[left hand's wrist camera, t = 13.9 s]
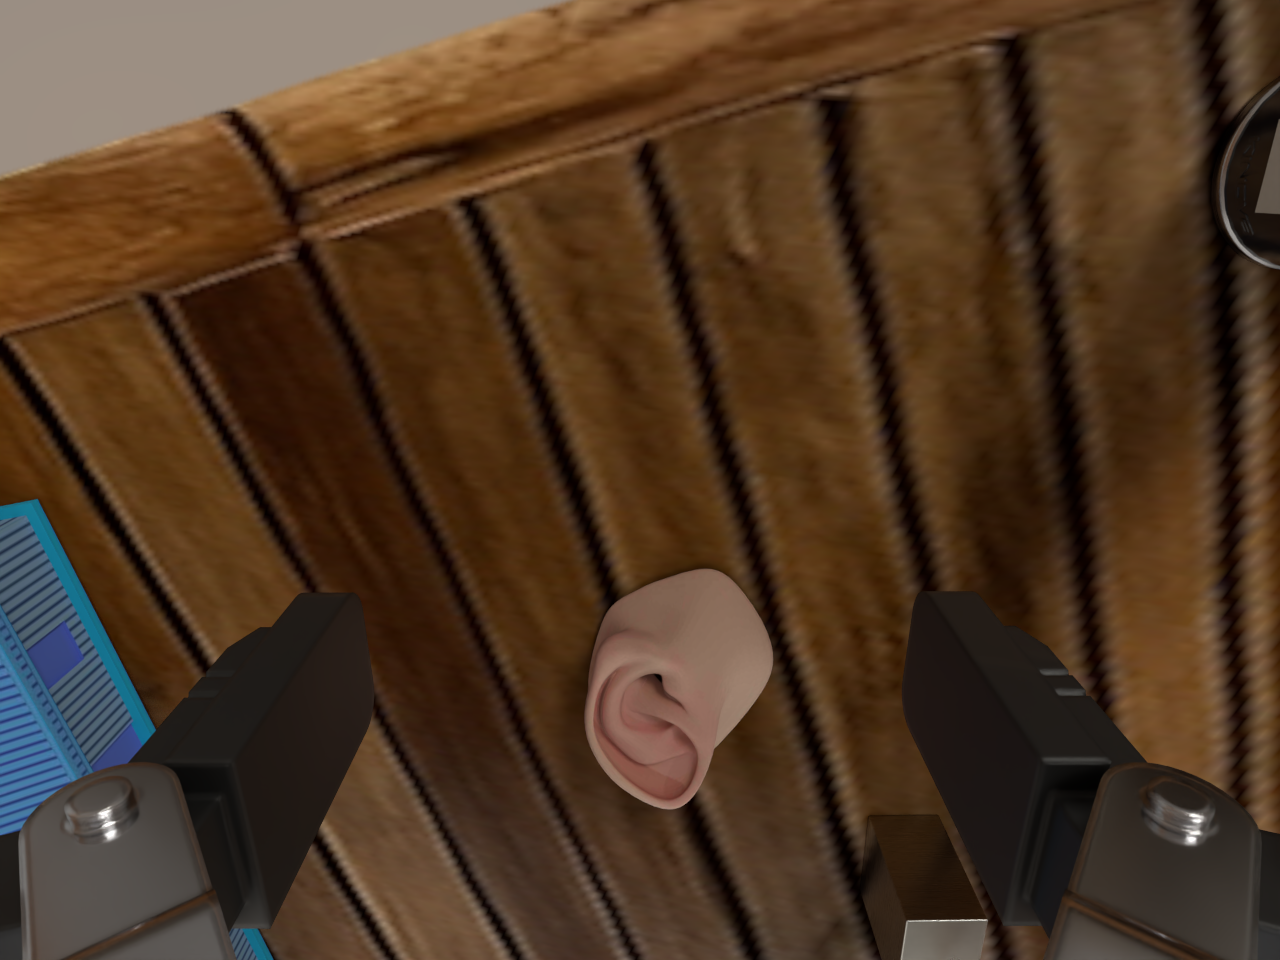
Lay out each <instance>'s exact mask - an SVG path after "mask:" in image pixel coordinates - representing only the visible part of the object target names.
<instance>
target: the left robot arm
mask: <svg viewBox="0 0 1280 960" xmlns="http://www.w3.org/2000/svg"><path fill="white" fill-rule="evenodd" d="M1211 200H1212V209H1213V213H1214V218H1215V221H1216V224H1217V226H1218V228H1219V231H1220V233H1221V235H1222V236H1223V238H1224V239H1225V241H1226V242H1227V243H1228V244H1229V246H1230V247H1231V248H1232V249H1233V250H1234V251H1235V252H1236V253H1238V254H1239V255H1240V256H1242V257H1243V258H1245V259H1247V260H1248V261H1250V262H1252V263H1255V264H1257V265H1260V266H1264V267H1268V268H1275V269H1280V76H1279V77H1278V78H1276V79H1275V80H1274V81H1272V82H1271V83H1270V84H1268V85H1267V86H1266V87H1265V88H1264V89H1262V90H1261V91H1260V92H1259V93H1258V94H1257V95H1256V96H1255V97H1254V98H1253V99H1252V100H1251V101H1250V102H1249V104H1248V105H1247V106H1246V107H1245V108H1244V109H1243V111H1242V112H1241V113H1240V115H1239V116H1238V117H1237V119H1236V120H1235V122H1234V123H1233V125H1232V126H1231V128H1230V130H1229V132H1228V134H1227V135H1226V137H1225V139H1224V142H1223V144H1222V146H1221V148H1220V151H1219V154H1218V157H1217V160H1216V164H1215V167H1214V172H1213V178H1212V188H1211ZM902 701H903V710H904V715H905V719H906V722H907V725H908V728H909V730H910V732H911V734H912V736H913V738H914V741H915V743H916V745H917V747H918V749H919V751H920V753H921V755H922V757H923V759H924V761H925V763H926V765H927V767H928V769H929V772H930V774H931V776H932V778H933V780H934V782H935V784H936V786H937V788H938V790H939V792H940V794H941V796H942V798H943V801H944V803H945V805H946V807H947V809H948V811H949V813H950V815H951V817H952V819H953V821H954V823H955V825H956V827H957V830H958V832H959V834H960V836H961V838H962V840H963V842H964V844H965V846H966V848H967V850H968V852H969V854H970V856H971V859H972V861H973V863H974V865H975V867H976V869H977V871H978V873H979V875H980V877H981V879H982V881H983V883H984V885H985V888H986V890H987V892H988V894H989V896H990V898H991V900H992V902H993V904H994V906H995V908H996V910H997V912H998V914H999V917H1000V919H1001V921H1002V923H1003V925H1004V926H1043V928H1044V930H1045V932H1046V934H1047V936H1048V938H1049V943H1048V946H1047V949H1046V952H1045V955H1044V959H1043V960H1280V834H1277V833H1273V832H1268V831H1264V830H1260V829H1258V826H1257V824H1256V823H1255V821H1254V820H1253V818H1252V817H1251V815H1250V814H1249V813H1248V812H1247V811H1246V810H1245V809H1244V808H1243V807H1242V806H1241V805H1240V804H1239V803H1238V802H1237V801H1236V800H1234V799H1233V798H1232V797H1231V796H1229V795H1228V794H1226V793H1225V792H1224V791H1222V790H1221V789H1219V788H1217V787H1216V786H1214V785H1212V784H1211V783H1209V782H1207V781H1205V780H1203V779H1201V778H1199V777H1197V776H1194V775H1192V774H1189V773H1187V772H1185V771H1182V770H1178V769H1175V768H1172V767H1168V766H1164V765H1160V764H1153V763H1147V762H1146V760H1145V759H1144V758H1143V757H1142V756H1141V755H1140V753H1139V752H1138V751H1137V750H1136V749H1135V748H1134V746H1133V745H1132V744H1131V743H1130V742H1129V741H1128V739H1127V738H1126V737H1125V736H1124V735H1123V734H1122V733H1121V731H1120V730H1119V729H1118V728H1117V727H1116V726H1115V724H1114V723H1113V722H1112V721H1111V720H1110V719H1109V717H1108V716H1107V715H1106V714H1105V713H1104V712H1103V710H1102V709H1101V708H1100V707H1099V706H1098V705H1097V703H1096V702H1095V701H1094V700H1093V699H1092V698H1091V696H1086V693H1085V689H1084V688H1083V687H1082V686H1081V685H1080V684H1079V682H1078V681H1077V680H1076V679H1075V678H1074V677H1073V675H1069V674H1068V670H1067V668H1066V667H1065V666H1064V665H1063V664H1062V663H1061V661H1060V660H1059V659H1058V658H1057V657H1056V656H1055V655H1054V653H1053V652H1052V651H1051V650H1050V649H1049V648H1048V646H1046V645H1044V644H1043V643H1041V642H1040V641H1038V640H1037V639H1035V638H1033V637H1032V636H1030V635H1029V634H1027V633H1026V632H1024V631H1022V630H1021V629H1019V628H1018V627H1016V626H1003V625H1002V623H1001V622H1000V621H999V620H998V618H997V617H996V616H995V615H994V613H993V612H992V611H991V610H990V608H989V607H988V606H987V605H986V603H985V602H984V601H983V600H982V598H981V597H980V596H979V595H978V594H977V593H975V592H972V591H923V592H920V593H919V594H918V595H917V597H916V599H915V602H914V606H913V612H912V619H911V626H910V633H909V640H908V647H907V654H906V661H905V668H904V675H903V683H902ZM373 703H374V684H373V677H372V670H371V663H370V656H369V649H368V642H367V635H366V628H365V622H364V615H363V608H362V604H361V601H360V599H359V597H358V595H357V594H355V593H301V594H299V595H298V596H297V597H296V598H295V599H294V600H293V601H292V603H291V604H290V605H289V606H288V607H287V609H286V610H285V611H284V612H283V614H282V615H281V616H280V617H279V619H278V620H277V621H276V622H275V624H274V625H273V626H272V627H260V628H258V629H257V630H255V631H254V632H252V633H250V634H249V635H247V636H246V637H244V638H242V639H241V640H239V641H238V642H236V643H235V644H233V645H231V646H230V647H228V648H227V649H226V650H225V651H224V652H223V654H222V655H221V656H220V657H219V658H218V659H217V661H216V662H215V663H214V664H213V665H212V666H211V667H210V669H209V670H208V671H207V672H206V677H202V678H201V679H200V680H199V681H198V682H197V684H196V685H195V686H194V687H193V688H192V689H191V691H190V692H189V697H188V698H184V699H183V700H182V701H181V702H180V703H179V704H178V706H177V707H176V708H175V709H174V710H173V711H172V712H171V714H170V715H169V716H168V717H167V718H166V719H165V721H164V722H163V723H162V724H161V725H160V726H159V727H158V729H157V730H156V731H155V732H154V733H153V734H152V736H151V737H150V738H149V739H148V740H147V741H146V742H145V744H144V745H143V746H142V747H141V748H140V749H139V751H138V752H137V753H136V754H135V755H134V756H133V757H132V759H131V760H130V761H129V762H128V763H127V764H120V765H116V766H112V767H108V768H105V769H102V770H98V771H95V772H93V773H91V774H88V775H86V776H83V777H81V778H79V779H77V780H75V781H73V782H71V783H69V784H68V785H66V786H64V787H63V788H61V789H59V790H58V791H56V792H55V793H54V794H52V795H51V796H49V797H48V798H47V799H46V800H44V801H43V802H42V803H41V804H40V805H39V806H38V807H37V808H36V809H35V810H34V811H33V812H32V813H31V814H30V815H29V817H28V818H27V820H26V821H25V823H24V824H23V826H22V829H21V830H20V831H16V832H12V833H8V834H4V835H0V960H237V959H236V955H235V952H234V949H233V946H232V943H231V939H230V936H229V933H230V931H231V929H270V928H271V926H272V924H273V922H274V920H275V918H276V916H277V914H278V912H279V910H280V908H281V905H282V903H283V901H284V899H285V897H286V895H287V893H288V891H289V889H290V887H291V885H292V883H293V881H294V879H295V877H296V875H297V873H298V871H299V869H300V867H301V865H302V862H303V860H304V858H305V856H306V854H307V852H308V850H309V848H310V846H311V844H312V842H313V840H314V838H315V836H316V834H317V832H318V830H319V828H320V826H321V824H322V822H323V820H324V817H325V815H326V813H327V811H328V809H329V807H330V805H331V803H332V801H333V799H334V797H335V795H336V793H337V791H338V789H339V787H340V785H341V783H342V781H343V779H344V777H345V775H346V772H347V770H348V768H349V766H350V764H351V762H352V760H353V758H354V756H355V754H356V752H357V750H358V748H359V746H360V744H361V742H362V740H363V738H364V736H365V734H366V732H367V729H368V727H369V724H370V720H371V716H372V711H373Z"/></svg>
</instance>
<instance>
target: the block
mask: <svg viewBox="0 0 1280 960" xmlns="http://www.w3.org/2000/svg"><path fill="white" fill-rule="evenodd" d="M860 891H861V894H862V897H863V900H864V904H865V907H866V910H867V913H868V916H869V920H870V923H871V926H872V929H873V932H874V936H875V939H876V942H877V945H878V948H879V952H880V955H881V958H882V960H980V956H981V951H982V946H983V941H984V936H985V931H986V926H987V921H988V920H987V918H986V915H985V913H984V911H983V909H982V907H981V905H980V903H979V901H978V898H977V896H976V894H975V892H974V890H973V888H972V886H971V884H970V881H969V879H968V877H967V875H966V873H965V871H964V869H963V866H962V864H961V862H960V860H959V858H958V856H957V854H956V852H955V849H954V847H953V845H952V843H951V841H950V839H949V837H948V835H947V832H946V830H945V828H944V826H943V824H942V822H941V820H940V818H939V816H938V815H913V816H869V818H868V827H867V835H866V843H865V852H864V860H863V869H862V877H861V885H860Z"/></svg>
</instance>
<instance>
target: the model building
mask: <svg viewBox="0 0 1280 960" xmlns="http://www.w3.org/2000/svg"><path fill="white" fill-rule="evenodd" d="M155 731H156V729H155V727H154V725H153V723H152V721H151V719H150V718H149V716H148V714H147V712H146V710H145V708H144V706H143V704H142V702H141V700H140V698H139V696H138V694H137V692H136V690H135V688H134V686H133V684H132V682H131V680H130V678H129V677H128V675H127V673H126V671H125V669H124V667H123V665H122V663H121V661H120V659H119V657H118V655H117V653H116V651H115V649H114V647H113V645H112V643H111V641H110V639H109V637H108V636H107V634H106V632H105V630H104V628H103V626H102V624H101V622H100V620H99V618H98V616H97V614H96V612H95V610H94V608H93V606H92V604H91V602H90V600H89V598H88V596H87V595H86V593H85V591H84V589H83V587H82V585H81V583H80V581H79V579H78V577H77V575H76V573H75V571H74V569H73V567H72V565H71V563H70V561H69V559H68V557H67V555H66V554H65V552H64V550H63V548H62V546H61V544H60V542H59V540H58V538H57V536H56V534H55V532H54V530H53V528H52V526H51V524H50V522H49V520H48V518H47V516H46V515H45V513H44V511H43V509H42V507H41V505H40V503H39V501H38V499H35V500H30V501H25V502H20V503H15V504H10V505H5V506H0V835H4V834H8V833H12V832H16V831H20V830H21V829H22V826H23V824H24V823H25V821H26V820H27V818H28V817H29V815H30V814H31V813H32V812H33V811H34V810H35V809H36V808H37V807H38V806H39V805H40V804H41V803H42V802H43V801H44V800H46V799H47V798H48V797H49V796H51V795H52V794H54V793H55V792H56V791H58V790H59V789H61V788H63V787H64V786H66V785H68V784H69V783H71V782H73V781H75V780H77V779H79V778H81V777H83V776H86V775H88V774H91V773H93V772H95V771H98V770H102V769H105V768H108V767H112V766H116V765H120V764H127V763H128V762H129V761H130V760H131V759H132V757H133V756H134V755H135V754H136V753H137V752H138V751H139V749H140V748H141V747H142V746H143V745H144V744H145V742H146V741H147V740H148V739H149V738H150V737H151V736H152V734H153V733H154V732H155ZM229 936H230V939H231V943H232V946H233V949H234V952H235V955H236V959H237V960H273V958H272V956H271V954H270V952H269V950H268V948H267V946H266V944H265V942H264V940H263V938H262V936H261V934H260V932H259V930H258V929H231V931H230V933H229Z"/></svg>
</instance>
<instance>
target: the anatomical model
mask: <svg viewBox="0 0 1280 960" xmlns="http://www.w3.org/2000/svg"><path fill="white" fill-rule="evenodd" d="M772 666H773V651H772V646H771V642H770V639H769V636H768V633H767V631H766V628H765V626H764V624H763V622H762V620H761V618H760V617H759V615H758V613H757V612H756V610H755V608H754V607H753V605H752V604H751V602H750V601H749V600H748V598H747V597H746V595H745V594H744V593H743V592H742V590H741V589H740V588H739V587H738V586H737V585H736V583H735V582H733V581H732V580H731V579H730V578H729V577H728V576H726V575H725V574H723V573H721V572H719V571H717V570H713V569H697V570H692V571H688V572H684V573H680V574H677V575H674V576H671V577H668V578H665V579H662V580H659V581H656V582H653V583H651V584H648V585H646V586H644V587H642V588H640V589H638V590H636V591H634V592H632V593H630V594H628V595H626V596H624V597H623V598H621V599H620V600H618V601H617V602H616V603H614V604H613V605H612V606H611V608H610V609H609V610H608V612H607V613H606V615H605V617H604V619H603V622H602V624H601V627H600V630H599V633H598V636H597V639H596V643H595V647H594V650H593V654H592V659H591V664H590V670H589V678H588V693H587V698H586V704H585V714H584V722H585V731H586V735H587V739H588V742H589V745H590V747H591V749H592V752H593V754H594V755H595V757H596V759H597V761H598V762H599V764H600V765H601V767H602V768H603V769H604V771H605V772H606V773H607V775H608V776H609V777H610V778H611V779H612V780H613V781H614V782H615V783H616V784H617V785H619V786H620V787H621V788H622V789H624V790H625V791H627V792H628V793H630V794H631V795H633V796H634V797H636V798H638V799H640V800H641V801H643V802H645V803H648V804H650V805H652V806H655V807H658V808H662V809H675V808H679V807H681V806H683V805H684V804H686V803H687V802H688V801H689V800H690V799H691V798H692V797H693V796H694V795H695V793H696V792H697V790H698V788H699V787H700V785H701V783H702V781H703V779H704V777H705V775H706V772H707V770H708V768H709V764H710V761H711V758H712V755H713V751H714V748H715V747H716V746H717V745H719V744H720V742H721V741H722V740H723V739H724V738H725V737H726V736H727V735H728V734H729V733H730V731H731V730H732V729H733V728H734V727H735V726H736V725H737V723H738V722H739V721H740V720H741V719H742V717H743V716H744V715H745V714H746V713H747V711H748V710H749V709H750V707H751V706H752V705H753V703H754V702H755V701H756V699H757V698H758V696H759V695H760V693H761V692H762V690H763V689H764V687H765V685H766V683H767V681H768V679H769V677H770V674H771V671H772Z"/></svg>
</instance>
